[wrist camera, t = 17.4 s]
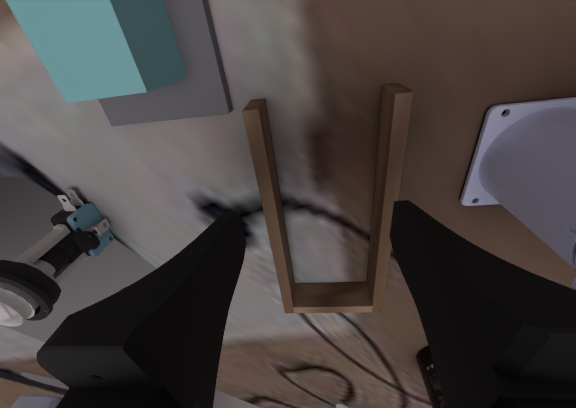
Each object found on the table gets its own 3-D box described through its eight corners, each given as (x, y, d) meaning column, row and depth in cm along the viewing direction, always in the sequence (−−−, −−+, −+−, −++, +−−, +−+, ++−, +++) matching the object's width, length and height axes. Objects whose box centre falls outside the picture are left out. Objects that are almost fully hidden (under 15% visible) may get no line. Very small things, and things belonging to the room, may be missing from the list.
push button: (48, 187, 23) (-93, 271, 15) (101, 186, 23) (-14, 272, 15) (85, 241, 27) (-13, 332, 19) (131, 240, 27) (52, 334, 18)
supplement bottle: (412, 366, 38) (449, 485, 28) (420, 341, 34) (466, 469, 24) (461, 366, 37) (517, 489, 27) (475, 342, 33) (546, 474, 23)
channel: (397, 83, 17) (413, 91, 14) (375, 287, 28) (381, 312, 26) (251, 100, 18) (242, 110, 15) (287, 289, 29) (285, 313, 27)
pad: (192, -65, 13) (184, -71, 13) (232, 109, 18) (229, 113, 18) (44, -35, 15) (28, -40, 14) (120, 122, 19) (111, 126, 19)
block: (151, -37, 13) (82, -68, 9) (187, 77, 16) (147, 92, 12) (77, -21, 14) (-21, -45, 10) (124, 86, 17) (65, 103, 13)
